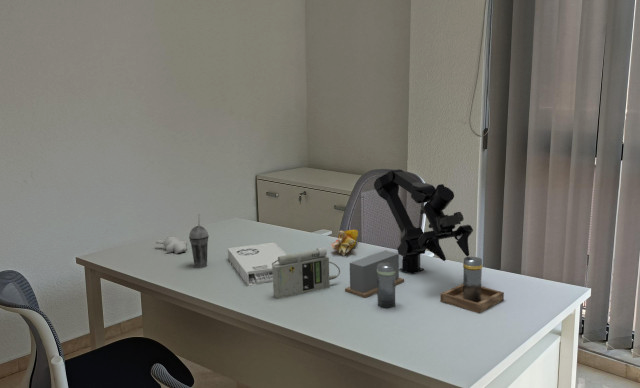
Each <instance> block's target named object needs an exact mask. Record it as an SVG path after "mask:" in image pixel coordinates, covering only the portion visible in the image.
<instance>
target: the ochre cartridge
mask: <svg viewBox="0 0 640 388" xmlns="http://www.w3.org/2000/svg"><path fill="white" fill-rule="evenodd" d="M462 264H463V265H462V267H463V275H462V276H463V279H462V281H463V283H462V284H463V299H466V300H470V301H473V302H478V301H480V300H481V286H482V273H483V270H482V269H483V259H482V258H481V257H477V256H466V257H464V258H463V263H462Z"/></svg>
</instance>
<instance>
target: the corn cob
mask: <svg viewBox="0 0 640 388" xmlns="http://www.w3.org/2000/svg"><path fill="white" fill-rule="evenodd" d="M338 232H339V234H338V238H337V239H336V241H334V242H332V243H331V244H330V245H331V248H332V250H334V251H338V253H339V254H341V256H343V257H345V255H346V254H347V253H349V252H350V250H352V249H353V248H354V247H355V246H356V243H357V240H358V236H359V230H357V229H349V230H339V231H338Z"/></svg>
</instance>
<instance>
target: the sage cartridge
mask: <svg viewBox="0 0 640 388" xmlns="http://www.w3.org/2000/svg"><path fill="white" fill-rule="evenodd" d="M395 274H396V269H395V264H393V263H387V262H385V263H379V264H378V265H377V289H378V293H377V306H378V308H382V309H392V308H394V307H395V306H396V285H395Z"/></svg>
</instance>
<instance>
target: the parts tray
mask: <svg viewBox="0 0 640 388" xmlns="http://www.w3.org/2000/svg"><path fill="white" fill-rule="evenodd" d="M439 296H440V302H441V303H444V304H447V305H451V306H454V307H457V308H460V309H464V310H467V311H470V312H474V313H476V314H477V313H478V314H480V313H482V312H483V311H486V310H488V309H490V308H491V306H492V307H493V306H495V305H497V304H499V303H501V302H503V301H504V300H505V299H504V296H505V292H504V291H501V290H496V289H493V288H489V287H486V286H482V285H481V300H480V301H478V302H473V301H470V300H466V299H463V283H461V284H458V285H457V286H454V287H452V288H450V289H447V290H446V291H443V292H442V293H440V295H439Z"/></svg>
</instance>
